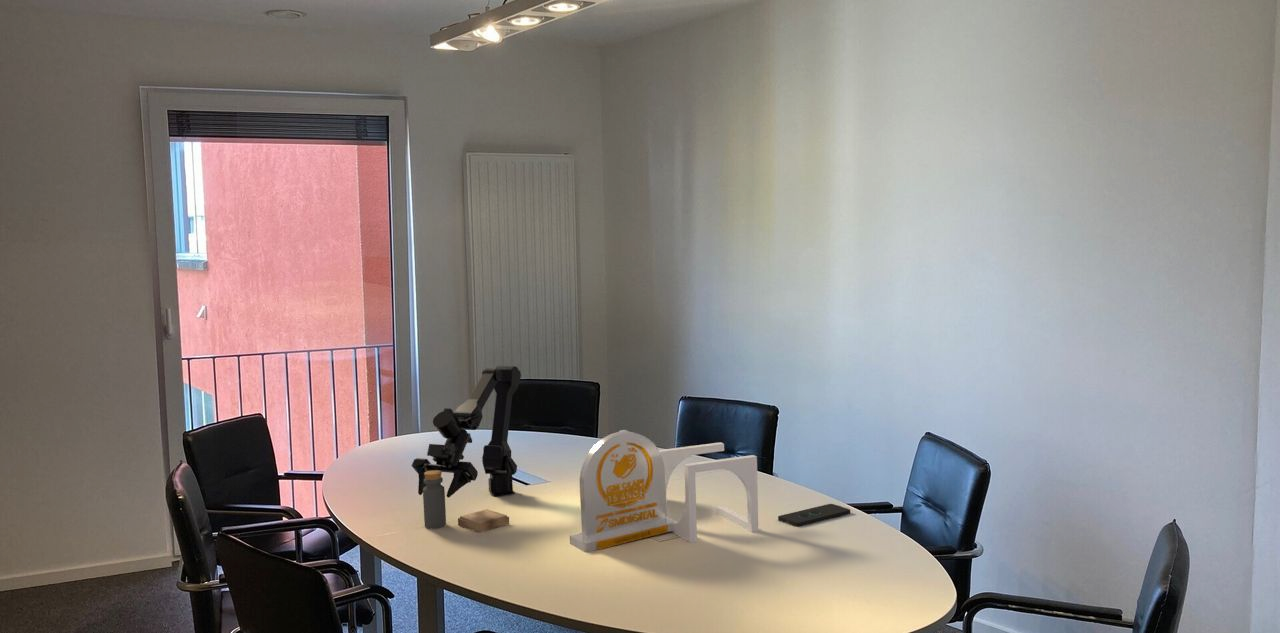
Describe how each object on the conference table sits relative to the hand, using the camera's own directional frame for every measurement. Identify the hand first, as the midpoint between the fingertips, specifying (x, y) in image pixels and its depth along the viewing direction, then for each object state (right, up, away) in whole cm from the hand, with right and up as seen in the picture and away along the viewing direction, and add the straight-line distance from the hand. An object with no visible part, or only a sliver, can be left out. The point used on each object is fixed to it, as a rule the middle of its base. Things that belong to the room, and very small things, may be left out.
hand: (433, 495), depth 274 cm
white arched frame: (+75, -7, -7) cm, 75 cm away
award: (+53, -8, -15) cm, 56 cm away
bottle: (0, -9, +1) cm, 9 cm away
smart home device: (+105, -6, -1) cm, 105 cm away
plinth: (+14, -8, 0) cm, 16 cm away
